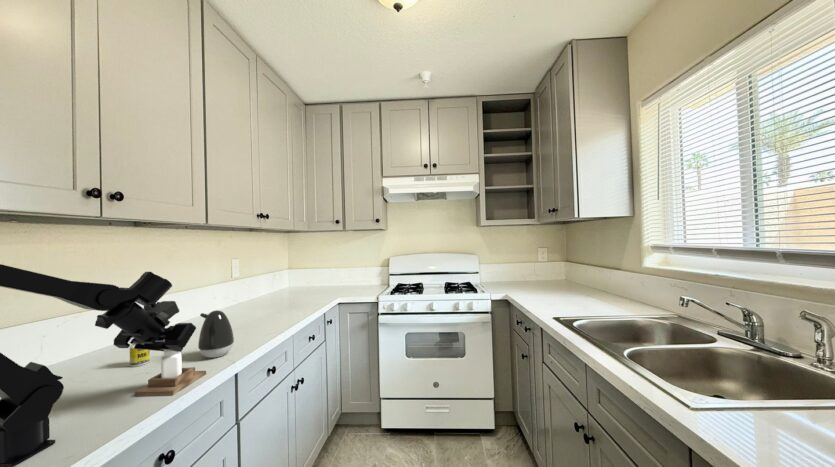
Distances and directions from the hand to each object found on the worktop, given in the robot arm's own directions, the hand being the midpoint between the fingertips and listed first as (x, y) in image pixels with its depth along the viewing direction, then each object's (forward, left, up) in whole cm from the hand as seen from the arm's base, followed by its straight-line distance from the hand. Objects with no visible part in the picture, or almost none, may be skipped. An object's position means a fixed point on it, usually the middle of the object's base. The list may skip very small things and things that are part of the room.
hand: (175, 350), depth 86 cm
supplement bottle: (+14, +23, -9) cm, 28 cm away
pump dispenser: (+20, +2, -9) cm, 22 cm away
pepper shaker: (-1, 0, -7) cm, 8 cm away
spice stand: (-1, 0, -9) cm, 9 cm away
